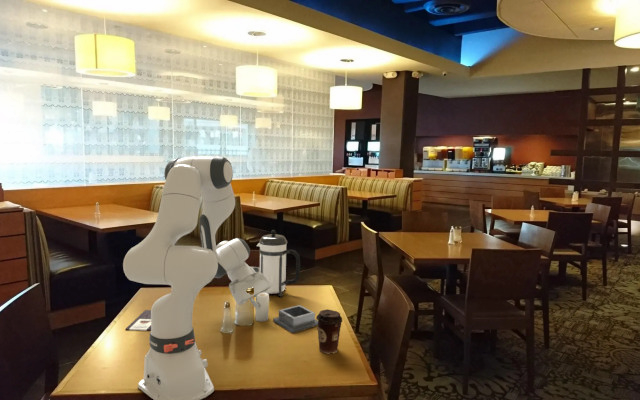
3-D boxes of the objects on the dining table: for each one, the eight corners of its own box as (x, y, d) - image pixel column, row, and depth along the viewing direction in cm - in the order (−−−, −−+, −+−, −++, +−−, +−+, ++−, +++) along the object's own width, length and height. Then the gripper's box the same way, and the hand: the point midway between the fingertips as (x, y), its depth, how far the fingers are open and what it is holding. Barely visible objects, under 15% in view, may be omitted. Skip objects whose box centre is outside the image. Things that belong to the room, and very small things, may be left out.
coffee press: (267, 301, 185) (268, 234, 181) (250, 291, 198) (251, 228, 194) (300, 294, 195) (301, 231, 192) (282, 285, 208) (283, 225, 204)
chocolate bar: (167, 310, 170) (150, 329, 152) (167, 312, 170) (150, 331, 152) (145, 310, 170) (125, 328, 152) (145, 312, 170) (125, 331, 152)
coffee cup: (318, 357, 136) (320, 318, 135) (312, 345, 144) (313, 309, 143) (344, 354, 139) (345, 316, 137) (336, 343, 147) (337, 307, 145)
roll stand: (320, 324, 162) (320, 313, 161) (292, 333, 154) (292, 320, 153) (300, 314, 172) (300, 303, 171) (273, 321, 164) (273, 309, 163)
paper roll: (270, 319, 165) (271, 295, 164) (259, 322, 162) (260, 297, 161) (264, 315, 169) (264, 291, 168) (253, 318, 166) (253, 293, 165)
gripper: (231, 279, 157) (253, 309, 154) (261, 266, 175) (281, 292, 172) (221, 289, 159) (243, 318, 156) (251, 275, 178) (271, 301, 175)
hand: (263, 305), depth 165 cm, fingers open, 5 cm apart
